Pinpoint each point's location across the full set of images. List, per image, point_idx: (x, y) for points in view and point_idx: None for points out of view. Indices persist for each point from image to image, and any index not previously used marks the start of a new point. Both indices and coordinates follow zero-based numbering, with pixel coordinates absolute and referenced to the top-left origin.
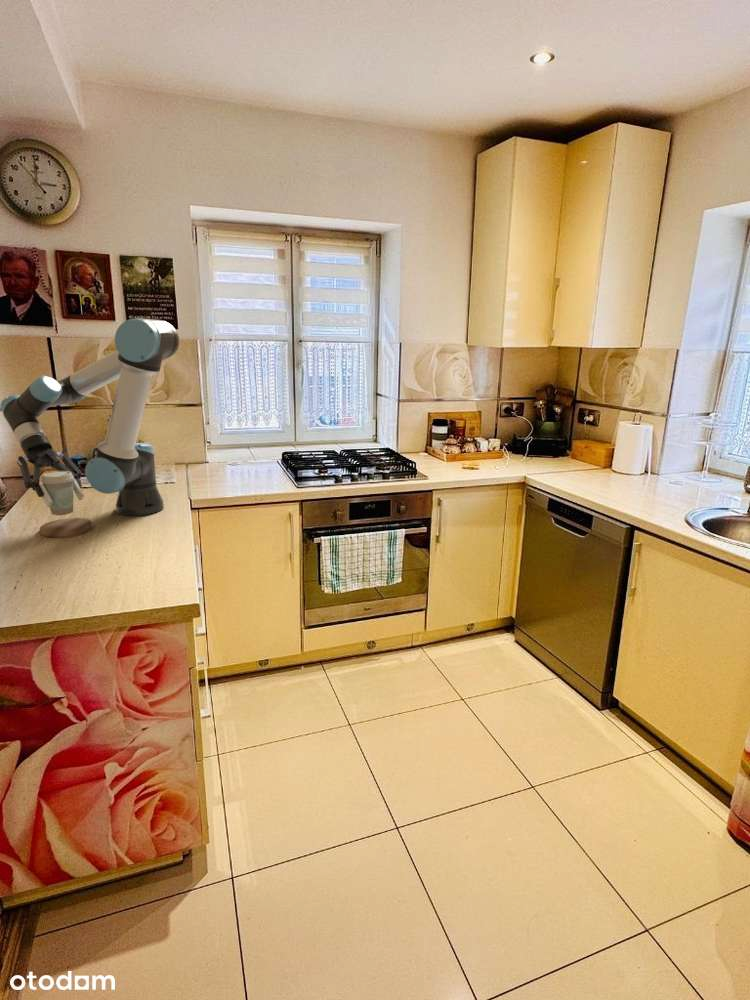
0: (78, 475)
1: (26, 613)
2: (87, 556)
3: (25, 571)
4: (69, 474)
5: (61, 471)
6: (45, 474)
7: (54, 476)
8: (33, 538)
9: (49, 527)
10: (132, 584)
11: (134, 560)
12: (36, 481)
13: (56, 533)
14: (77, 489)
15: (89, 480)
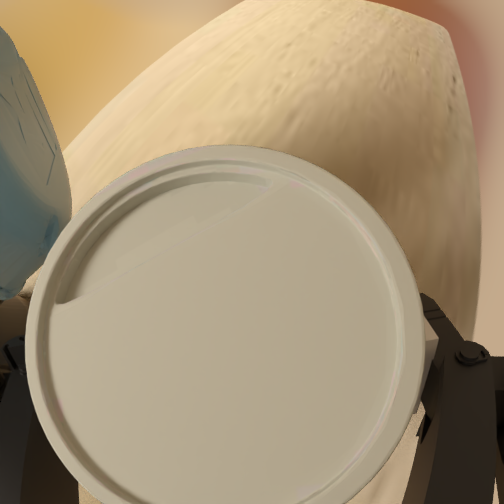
0: (6, 382)
1: (432, 30)
2: (317, 102)
3: (445, 117)
4: (106, 186)
5: (72, 449)
6: (346, 466)
7: (286, 225)
8: None
9: None
10: (302, 12)
11: (253, 52)
12: (475, 368)
13: None
14: None
15: (47, 199)
